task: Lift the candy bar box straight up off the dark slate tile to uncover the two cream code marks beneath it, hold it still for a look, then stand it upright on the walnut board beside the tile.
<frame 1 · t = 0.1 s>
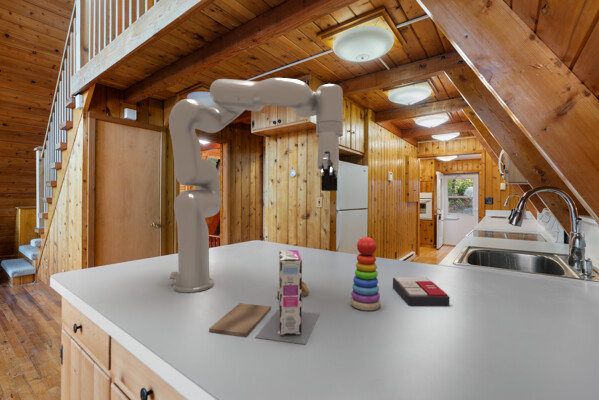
hand: (329, 190, 83), 31 cm above the countertop, tool pointing down, fingers open, 9 cm apart
walnut board: (242, 319, 71), on the countertop
pastry: (293, 296, 87), on the countertop
stacking toy: (365, 306, 79), on the countertop
code tile: (290, 325, 68), on the countertop
candy bar box: (290, 325, 68), resting on code tile
dark flat boxy piece: (418, 298, 86), on the countertop
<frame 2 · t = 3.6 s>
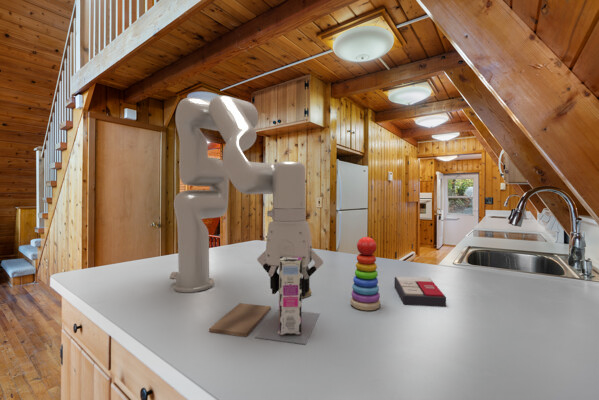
hand: (289, 292, 67), 8 cm above the countertop, tool pointing down, fingers closed on candy bar box, 6 cm apart
candy bar box: (290, 325, 68), resting on code tile, touching gripper
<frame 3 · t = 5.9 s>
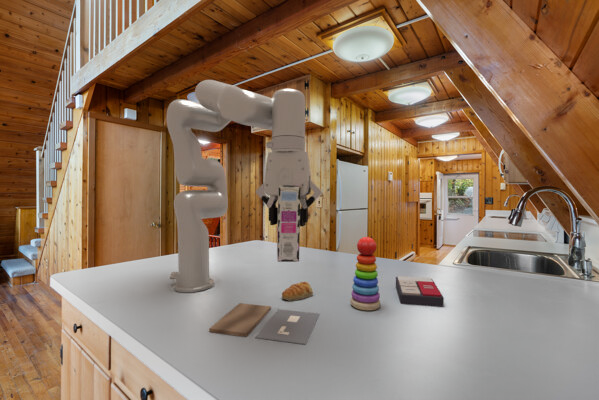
hand: (288, 224, 67), 23 cm above the countertop, tool pointing down, fingers closed on candy bar box, 6 cm apart
candy bar box: (288, 257, 67), point 16 cm above the countertop, touching gripper
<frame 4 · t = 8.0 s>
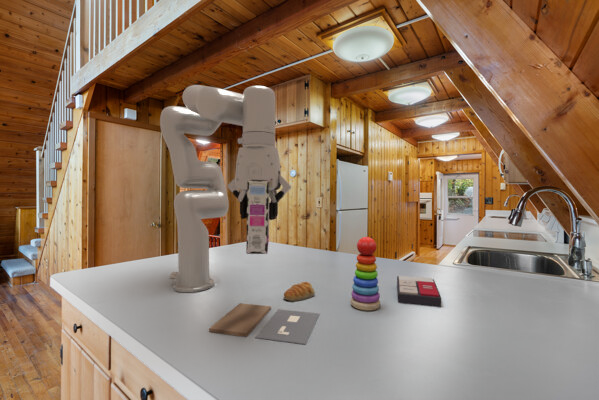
hand: (258, 218, 69), 25 cm above the countertop, tool pointing down, fingers closed on candy bar box, 6 cm apart
candy bar box: (258, 249, 69), point 17 cm above the countertop, touching gripper
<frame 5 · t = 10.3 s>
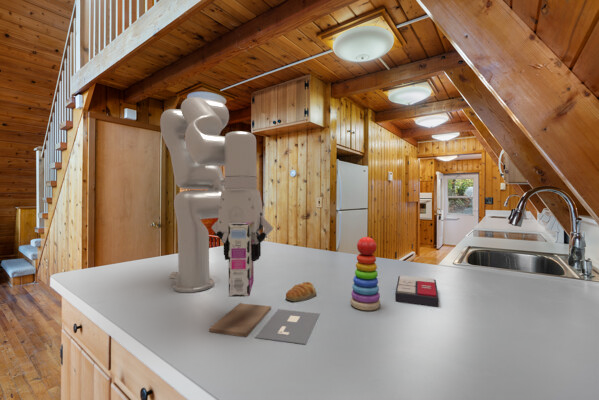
hand: (242, 258, 70), 15 cm above the countertop, tool pointing down, fingers closed on candy bar box, 6 cm apart
candy bar box: (242, 289, 70), point 7 cm above the countertop, touching gripper
when the fingers open (9 cm above the countertop, at t = 12.3 s): candy bar box moves 1 cm, resting on walnut board.
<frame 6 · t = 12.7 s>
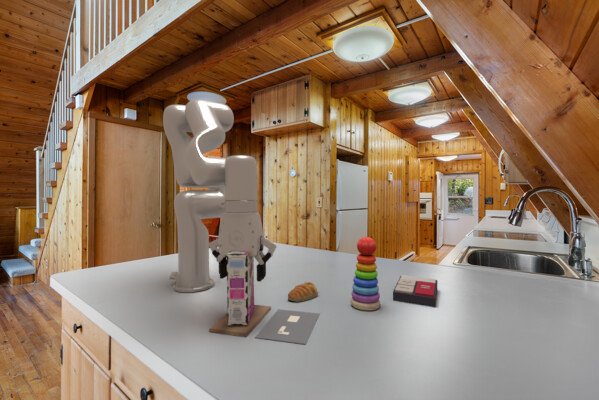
hand: (242, 278, 70), 10 cm above the countertop, tool pointing down, fingers open, 9 cm apart
candy bar box: (242, 316, 71), point 1 cm above the countertop, touching walnut board
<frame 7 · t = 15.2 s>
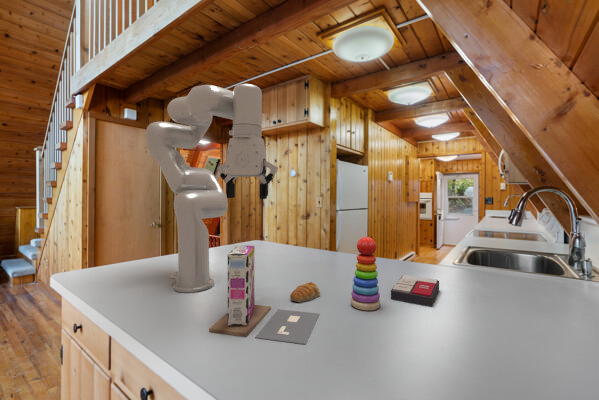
hand: (246, 198, 78), 29 cm above the countertop, tool pointing down, fingers open, 9 cm apart
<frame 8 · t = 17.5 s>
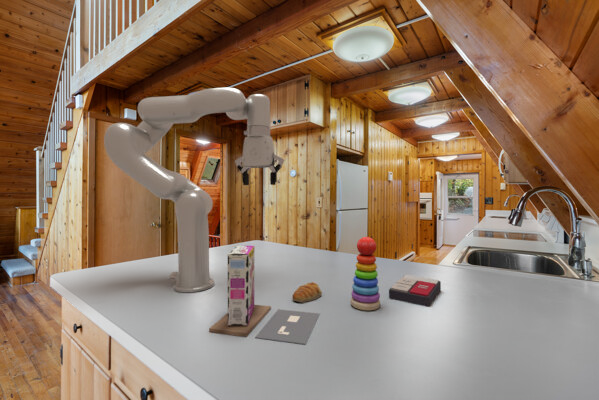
hand: (259, 184, 97), 33 cm above the countertop, tool pointing down, fingers open, 9 cm apart
at the end: candy bar box inside the target area on the walnut board (0.1 cm from its centre), point 0.6 cm above the walnut board's base; candy bar box tilted 0°; the gripper is holding nothing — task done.
